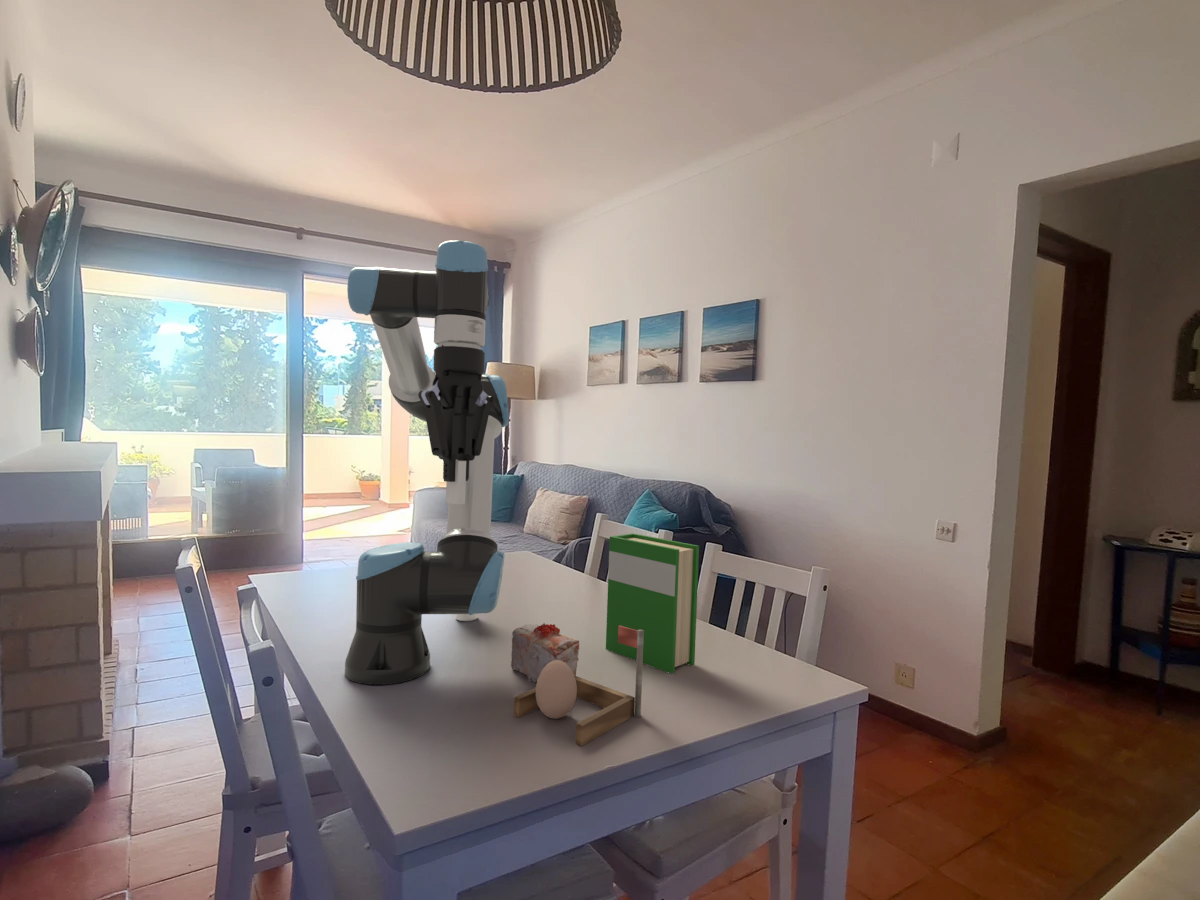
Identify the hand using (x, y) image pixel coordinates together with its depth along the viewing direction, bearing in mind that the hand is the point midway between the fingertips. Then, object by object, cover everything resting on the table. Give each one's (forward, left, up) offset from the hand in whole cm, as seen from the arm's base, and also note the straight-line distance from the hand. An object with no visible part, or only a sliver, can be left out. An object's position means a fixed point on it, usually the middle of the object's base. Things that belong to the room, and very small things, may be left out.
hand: (455, 502), depth 94 cm
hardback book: (+6, +46, -35) cm, 58 cm away
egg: (+10, +13, -35) cm, 38 cm away
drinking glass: (-40, +36, -35) cm, 64 cm away
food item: (-2, +24, -35) cm, 42 cm away
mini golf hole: (+12, +16, -34) cm, 40 cm away
